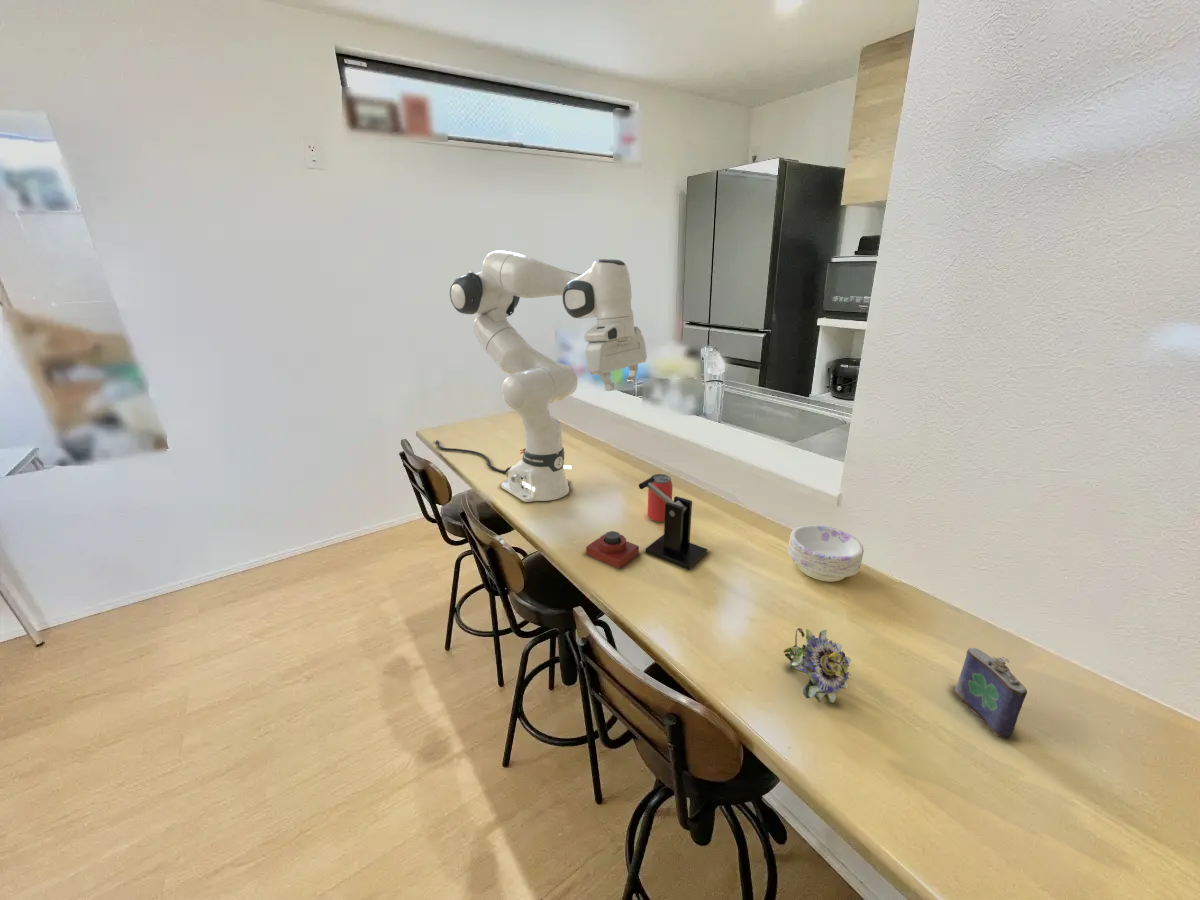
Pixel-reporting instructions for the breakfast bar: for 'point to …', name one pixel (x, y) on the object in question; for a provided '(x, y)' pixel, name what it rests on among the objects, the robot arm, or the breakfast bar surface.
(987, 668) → the flask
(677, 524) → the bracket
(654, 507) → the beer can
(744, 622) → the breakfast bar surface
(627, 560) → the button box
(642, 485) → the lever
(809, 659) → the passion flower
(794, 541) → the paper bowls
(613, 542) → the button
